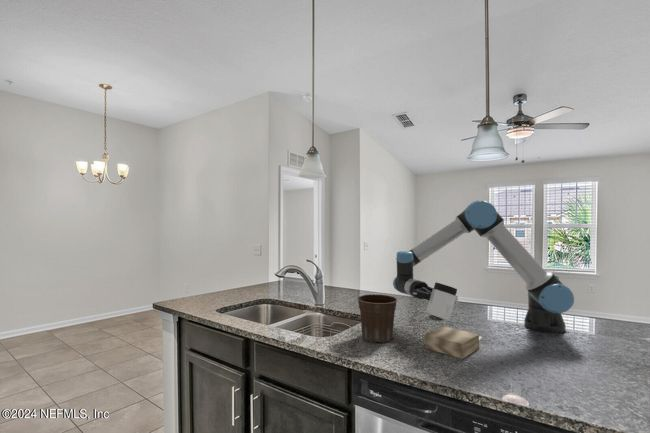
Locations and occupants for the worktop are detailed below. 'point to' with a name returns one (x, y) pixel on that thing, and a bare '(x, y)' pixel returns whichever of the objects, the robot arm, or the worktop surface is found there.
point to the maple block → (452, 341)
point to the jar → (442, 301)
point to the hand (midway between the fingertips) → (452, 300)
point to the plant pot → (377, 317)
